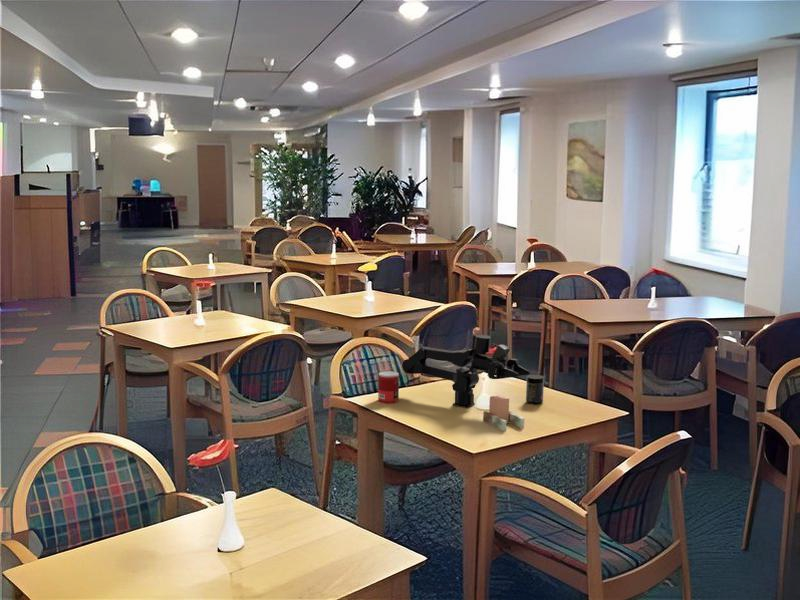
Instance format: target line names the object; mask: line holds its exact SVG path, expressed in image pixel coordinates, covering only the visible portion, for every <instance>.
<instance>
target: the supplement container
mask: <svg viewBox="0 0 800 600" xmlns="http://www.w3.org/2000/svg"><path fill="white" fill-rule="evenodd" d="M544 383H545V376H543V375H539V374H529V375H526V385H525V386H526V387H525V389H526V390H525V391H526V393H525V402H526V403H527V404H528V405H532V404H533V405H534V406H535V405H542V404H543V403H544V389H545V388H544V387H545V385H544Z"/></svg>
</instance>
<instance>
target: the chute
mask: <svg viewBox="0 0 800 600" xmlns="http://www.w3.org/2000/svg"><path fill="white" fill-rule="evenodd" d="M482 415H483V416H482V421H483V422H484V423H486V424H489V425H490V426H492V427H494V428H496V429H498V430H500V431H502V432H504V431H505V432H506V431H507V423H506V422H507V421H506V420H504V419H502V418H500V417H497V416H495V415H493V414H491V413H489V411H487V410H485V411H483V413H482ZM509 422H510V423H509ZM508 423H509V424H511V423H512V424H511V425H513V424H514V425H513V426H515V425H516V427H517V426H518V427H517V428H519V427H520V429H525V417H523V416H521V415H518V414H516V413H514V412H512V411H510V410H509V420H508Z"/></svg>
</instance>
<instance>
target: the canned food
mask: <svg viewBox="0 0 800 600" xmlns="http://www.w3.org/2000/svg"><path fill="white" fill-rule="evenodd" d="M377 379H378V380H377V381H378V382H377V384H378V389H377V392H378V402H380V403H382V404H395V403H398V401H399V399H400V398H399V391H400V389H399V388H400V387H399V386H400V385H399V384H400V373H399V372H397V371H387V370H386V371H381V372H379V373H378V377H377Z"/></svg>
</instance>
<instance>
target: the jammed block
mask: <svg viewBox="0 0 800 600" xmlns="http://www.w3.org/2000/svg"><path fill="white" fill-rule="evenodd" d="M509 411H510V398H509V397H506V396H504V395H503V394H499V395H495V396H493V395H492V396H489V410H488V412H489V413H491V414H493V415H495V416H497V417H500V418H502V419H504V420H506V421H507V422H506V424H508V423H509V422H508V420H509Z"/></svg>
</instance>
